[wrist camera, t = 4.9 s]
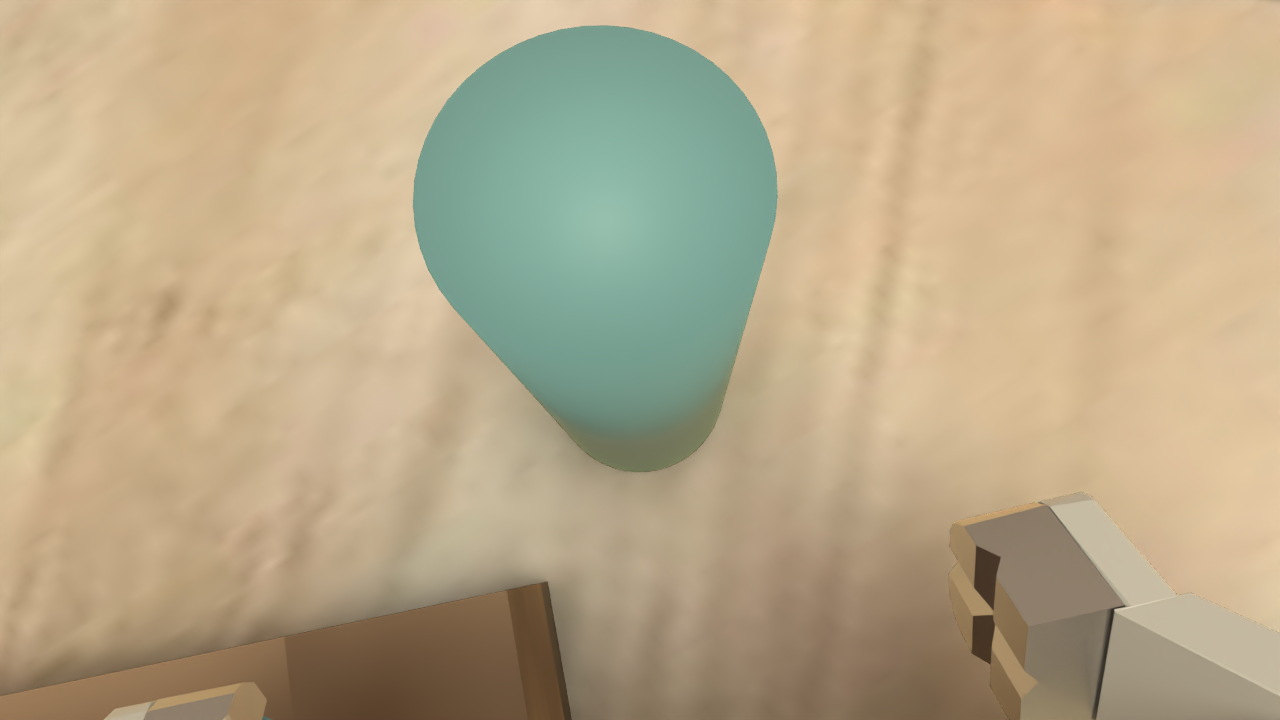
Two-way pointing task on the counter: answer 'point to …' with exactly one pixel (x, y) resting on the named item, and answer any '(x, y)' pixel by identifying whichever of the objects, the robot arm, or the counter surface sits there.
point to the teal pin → (603, 231)
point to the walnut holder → (359, 669)
